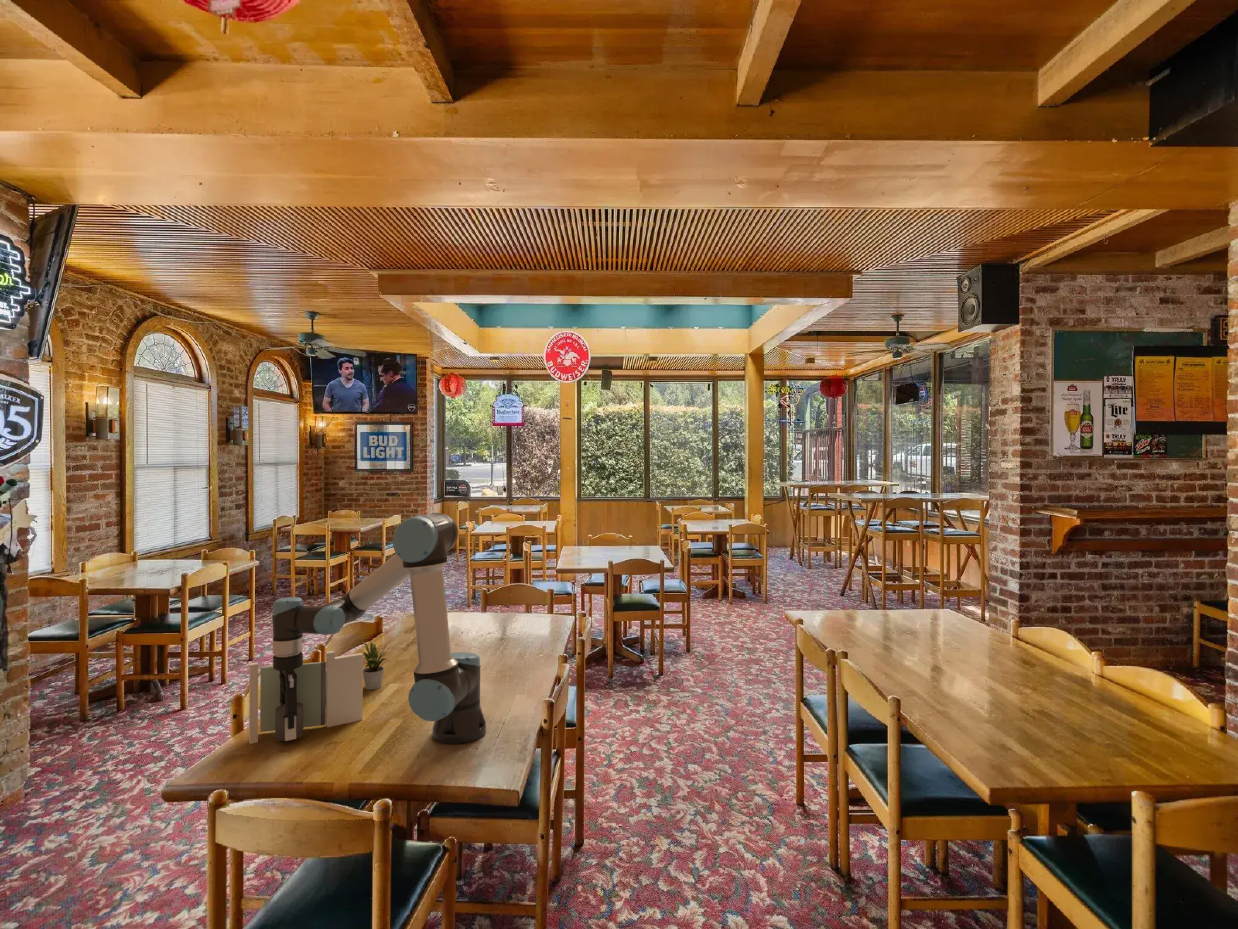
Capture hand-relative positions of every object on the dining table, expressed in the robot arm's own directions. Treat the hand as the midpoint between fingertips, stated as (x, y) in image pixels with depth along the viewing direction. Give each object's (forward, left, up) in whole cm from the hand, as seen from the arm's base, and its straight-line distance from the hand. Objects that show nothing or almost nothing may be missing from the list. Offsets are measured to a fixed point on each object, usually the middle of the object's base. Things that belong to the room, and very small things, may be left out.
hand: (288, 734), depth 180 cm
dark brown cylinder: (0, 0, 0) cm, 0 cm away
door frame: (+5, -6, -2) cm, 8 cm away
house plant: (+33, -30, -2) cm, 45 cm away
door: (+8, -2, -1) cm, 8 cm away
